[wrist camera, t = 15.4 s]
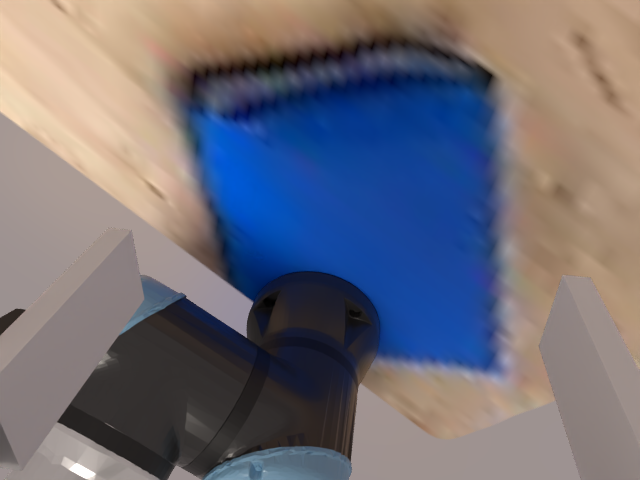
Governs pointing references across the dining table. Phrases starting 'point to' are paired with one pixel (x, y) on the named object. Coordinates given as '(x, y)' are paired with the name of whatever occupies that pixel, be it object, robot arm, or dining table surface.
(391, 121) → the dining table surface
